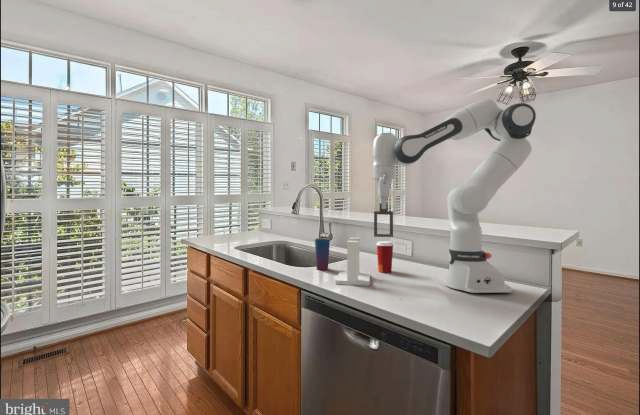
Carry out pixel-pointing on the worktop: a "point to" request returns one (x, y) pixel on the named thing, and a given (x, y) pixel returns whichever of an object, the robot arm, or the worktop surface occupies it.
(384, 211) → the loop
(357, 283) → the white post stand
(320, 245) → the cup
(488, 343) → the worktop surface
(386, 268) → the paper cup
